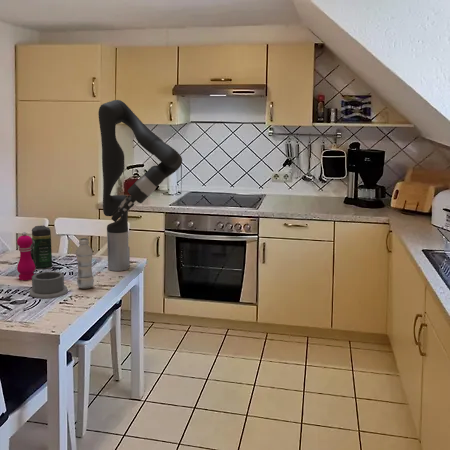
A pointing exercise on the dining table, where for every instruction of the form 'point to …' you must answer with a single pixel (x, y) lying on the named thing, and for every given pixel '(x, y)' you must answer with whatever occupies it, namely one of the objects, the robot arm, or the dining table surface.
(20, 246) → the pepper mill
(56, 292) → the bottle holder
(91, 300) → the dining table surface
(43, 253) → the coffee jar
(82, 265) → the plastic bottle
